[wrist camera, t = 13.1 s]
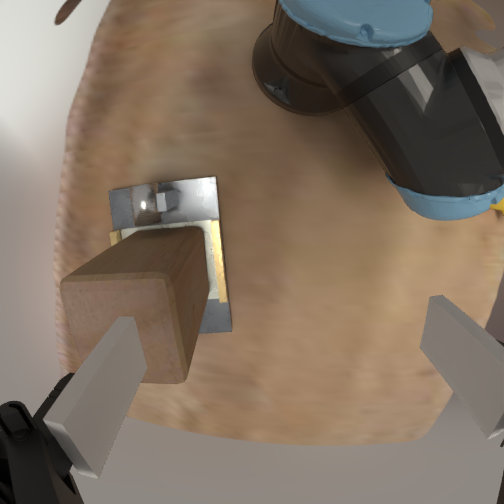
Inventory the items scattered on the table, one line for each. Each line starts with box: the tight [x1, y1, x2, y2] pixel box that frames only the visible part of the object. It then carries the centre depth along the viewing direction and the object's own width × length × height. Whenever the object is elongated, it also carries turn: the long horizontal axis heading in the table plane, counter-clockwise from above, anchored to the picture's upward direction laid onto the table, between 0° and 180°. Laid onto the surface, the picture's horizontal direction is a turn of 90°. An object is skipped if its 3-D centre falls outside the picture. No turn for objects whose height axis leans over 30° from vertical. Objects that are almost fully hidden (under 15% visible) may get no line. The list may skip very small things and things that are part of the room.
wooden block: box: [60, 226, 210, 384], centre depth 32 cm, size 10×10×20 cm
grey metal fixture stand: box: [109, 177, 232, 334], centre depth 38 cm, size 22×15×10 cm
